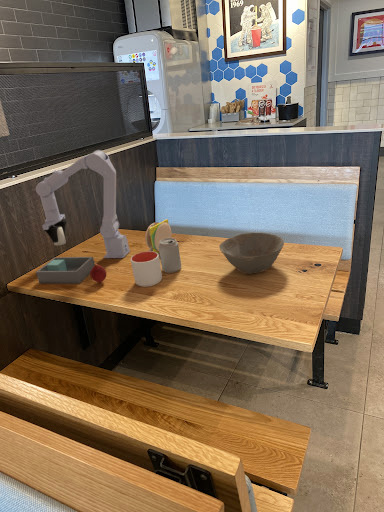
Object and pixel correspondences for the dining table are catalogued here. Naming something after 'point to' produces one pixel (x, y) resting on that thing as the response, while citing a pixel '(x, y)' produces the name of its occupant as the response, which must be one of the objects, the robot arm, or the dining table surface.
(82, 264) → the tote
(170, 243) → the can
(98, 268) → the onion
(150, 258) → the cup
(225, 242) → the ceramic bowl
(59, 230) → the cylinder
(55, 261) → the cube
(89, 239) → the dining table surface
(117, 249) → the robot arm
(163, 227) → the hamburger
